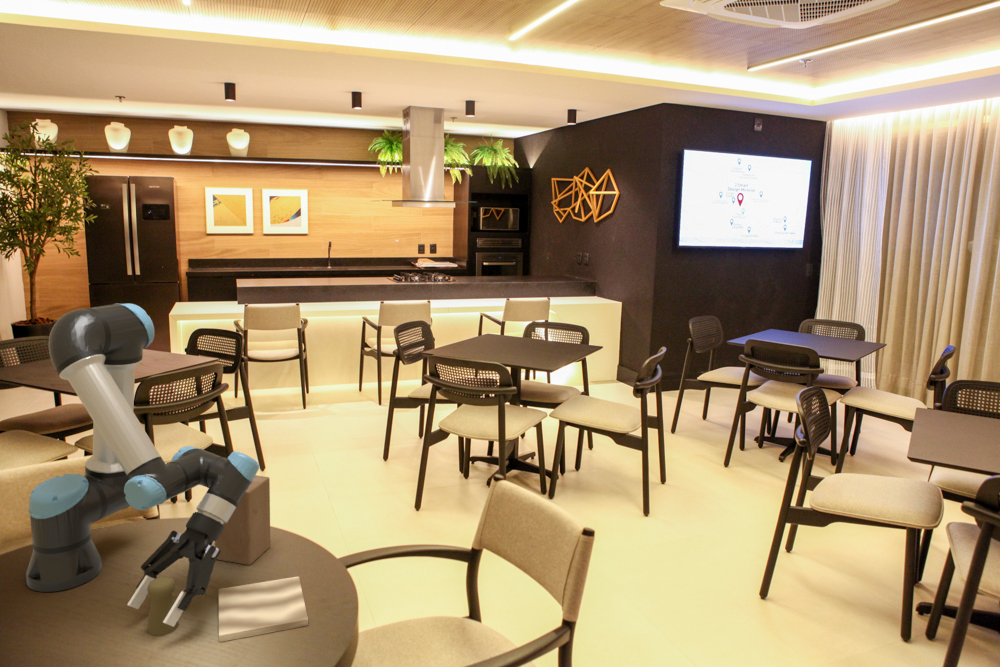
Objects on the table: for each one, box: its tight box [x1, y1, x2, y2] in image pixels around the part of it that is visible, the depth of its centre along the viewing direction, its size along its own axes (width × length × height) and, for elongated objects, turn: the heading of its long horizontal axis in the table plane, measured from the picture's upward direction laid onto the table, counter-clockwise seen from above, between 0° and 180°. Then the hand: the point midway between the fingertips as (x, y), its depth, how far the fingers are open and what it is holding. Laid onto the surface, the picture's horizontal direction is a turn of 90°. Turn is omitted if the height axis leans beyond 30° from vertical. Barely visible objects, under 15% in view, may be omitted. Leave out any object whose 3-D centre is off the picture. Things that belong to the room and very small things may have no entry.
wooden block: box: [214, 474, 271, 566], centre depth 171 cm, size 10×10×20 cm
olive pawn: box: [147, 576, 180, 637], centre depth 141 cm, size 6×6×11 cm
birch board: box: [218, 576, 309, 643], centre depth 150 cm, size 18×18×2 cm
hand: (150, 615), depth 139 cm, fingers open, 11 cm apart
